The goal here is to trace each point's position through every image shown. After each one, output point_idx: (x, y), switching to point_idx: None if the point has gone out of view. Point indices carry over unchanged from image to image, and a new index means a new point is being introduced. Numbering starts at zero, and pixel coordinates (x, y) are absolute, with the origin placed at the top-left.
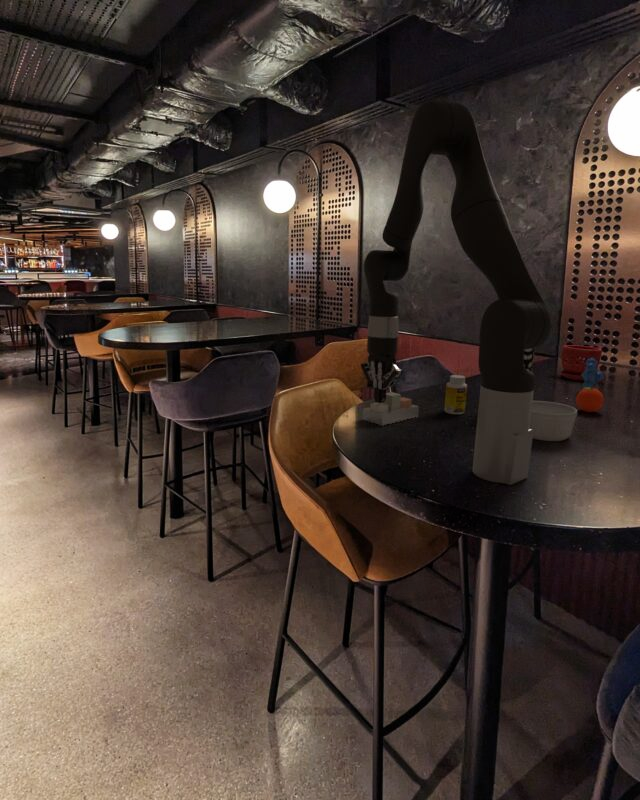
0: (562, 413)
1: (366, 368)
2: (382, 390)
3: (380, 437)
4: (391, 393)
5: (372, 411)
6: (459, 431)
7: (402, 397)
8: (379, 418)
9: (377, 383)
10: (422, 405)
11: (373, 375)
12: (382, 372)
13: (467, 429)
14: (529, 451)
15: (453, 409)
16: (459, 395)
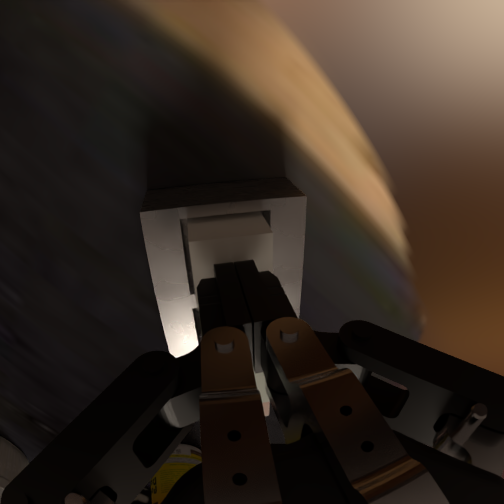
0: (1, 491)
1: (470, 408)
2: (202, 334)
3: (26, 82)
4: (259, 389)
5: (229, 206)
6: (12, 371)
7: (264, 413)
8: (164, 199)
9: (272, 360)
10: (276, 433)
11: (337, 397)
12: (203, 484)
13: (26, 394)
14: None
15: None
16: (153, 496)
